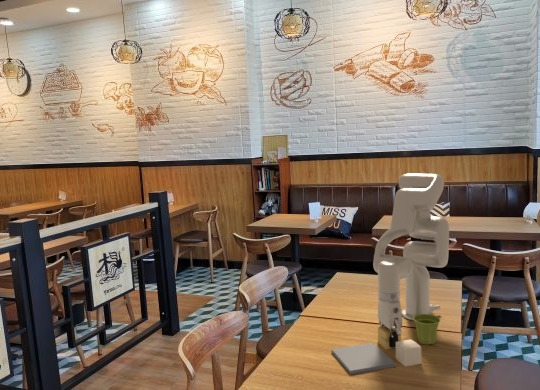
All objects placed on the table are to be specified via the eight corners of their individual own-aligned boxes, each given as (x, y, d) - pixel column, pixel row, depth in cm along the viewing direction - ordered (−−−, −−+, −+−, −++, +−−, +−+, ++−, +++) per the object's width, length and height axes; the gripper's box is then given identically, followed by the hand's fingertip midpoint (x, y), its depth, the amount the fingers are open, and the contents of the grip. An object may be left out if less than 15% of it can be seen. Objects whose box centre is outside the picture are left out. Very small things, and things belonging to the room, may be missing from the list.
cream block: (411, 355, 160) (411, 339, 159) (421, 363, 154) (421, 346, 154) (395, 358, 159) (395, 341, 158) (405, 366, 153) (405, 349, 152)
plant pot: (409, 343, 169) (409, 320, 168) (417, 333, 177) (417, 312, 176) (436, 349, 164) (436, 325, 163) (442, 339, 172) (443, 316, 171)
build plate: (372, 345, 169) (372, 342, 168) (395, 366, 153) (395, 363, 153) (331, 352, 165) (331, 349, 165) (350, 374, 149) (350, 370, 149)
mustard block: (392, 340, 173) (392, 324, 172) (400, 347, 167) (400, 331, 166) (377, 342, 171) (377, 326, 170) (385, 349, 165) (385, 333, 165)
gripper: (411, 302, 159) (411, 351, 162) (386, 286, 176) (386, 332, 178) (391, 304, 157) (391, 355, 160) (368, 289, 174) (369, 334, 176)
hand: (389, 342), depth 169 cm, fingers closed on mustard block, 5 cm apart
